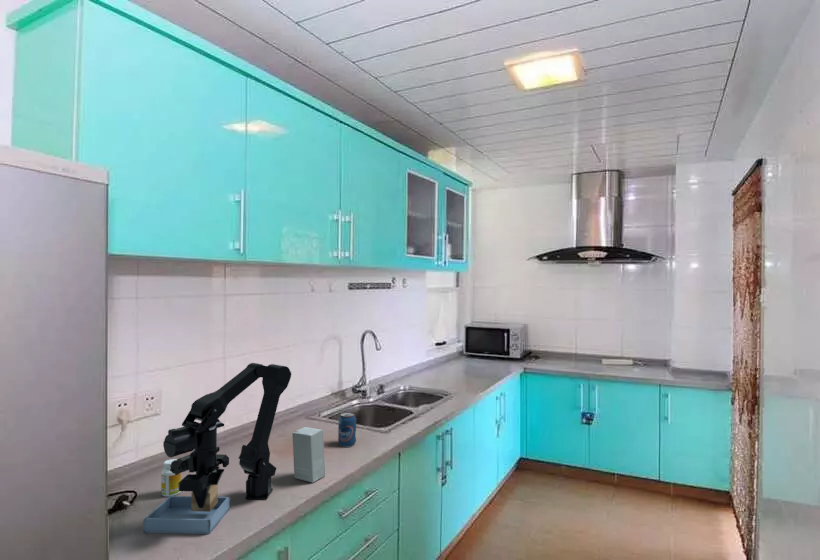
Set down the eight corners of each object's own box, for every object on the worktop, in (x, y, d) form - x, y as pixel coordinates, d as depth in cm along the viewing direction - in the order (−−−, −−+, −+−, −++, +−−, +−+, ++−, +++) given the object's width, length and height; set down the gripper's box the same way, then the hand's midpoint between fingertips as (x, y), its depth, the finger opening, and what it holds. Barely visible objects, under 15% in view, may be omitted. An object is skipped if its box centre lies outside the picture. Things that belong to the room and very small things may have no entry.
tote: (229, 509, 139) (229, 497, 139) (209, 533, 126) (209, 520, 126) (169, 508, 140) (169, 495, 140) (143, 532, 126) (143, 518, 126)
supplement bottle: (183, 489, 152) (184, 458, 152) (176, 497, 146) (176, 464, 146) (166, 489, 152) (166, 458, 152) (157, 497, 146) (158, 464, 146)
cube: (217, 502, 136) (217, 484, 136) (209, 511, 131) (210, 492, 131) (199, 502, 136) (199, 484, 136) (191, 511, 131) (191, 492, 131)
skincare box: (325, 476, 162) (326, 429, 162) (310, 484, 156) (311, 435, 156) (306, 471, 167) (306, 424, 166) (291, 478, 160) (291, 430, 160)
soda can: (337, 447, 190) (337, 416, 189) (339, 441, 196) (339, 411, 196) (355, 447, 190) (355, 416, 190) (356, 441, 197) (356, 411, 197)
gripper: (192, 434, 143) (191, 487, 143) (158, 458, 124) (157, 519, 125) (229, 435, 143) (229, 488, 143) (201, 459, 124) (201, 520, 124)
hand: (205, 503), depth 134 cm, fingers closed on cube, 5 cm apart
